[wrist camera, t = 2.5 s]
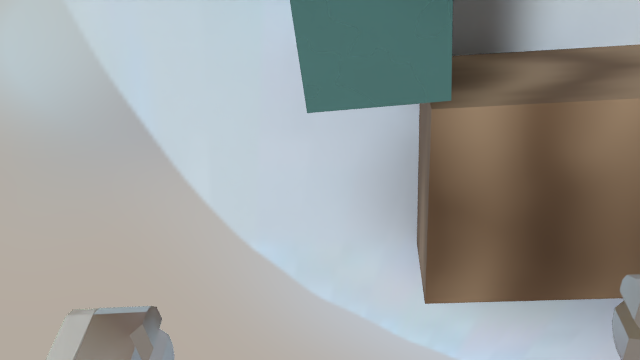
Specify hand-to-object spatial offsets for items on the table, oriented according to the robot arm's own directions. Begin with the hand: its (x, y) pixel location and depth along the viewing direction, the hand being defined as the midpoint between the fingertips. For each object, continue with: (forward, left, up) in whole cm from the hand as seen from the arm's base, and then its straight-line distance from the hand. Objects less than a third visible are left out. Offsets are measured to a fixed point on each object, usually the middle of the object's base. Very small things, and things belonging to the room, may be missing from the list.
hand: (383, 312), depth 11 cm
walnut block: (-8, +11, -20) cm, 24 cm away
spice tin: (0, 0, -19) cm, 19 cm away
